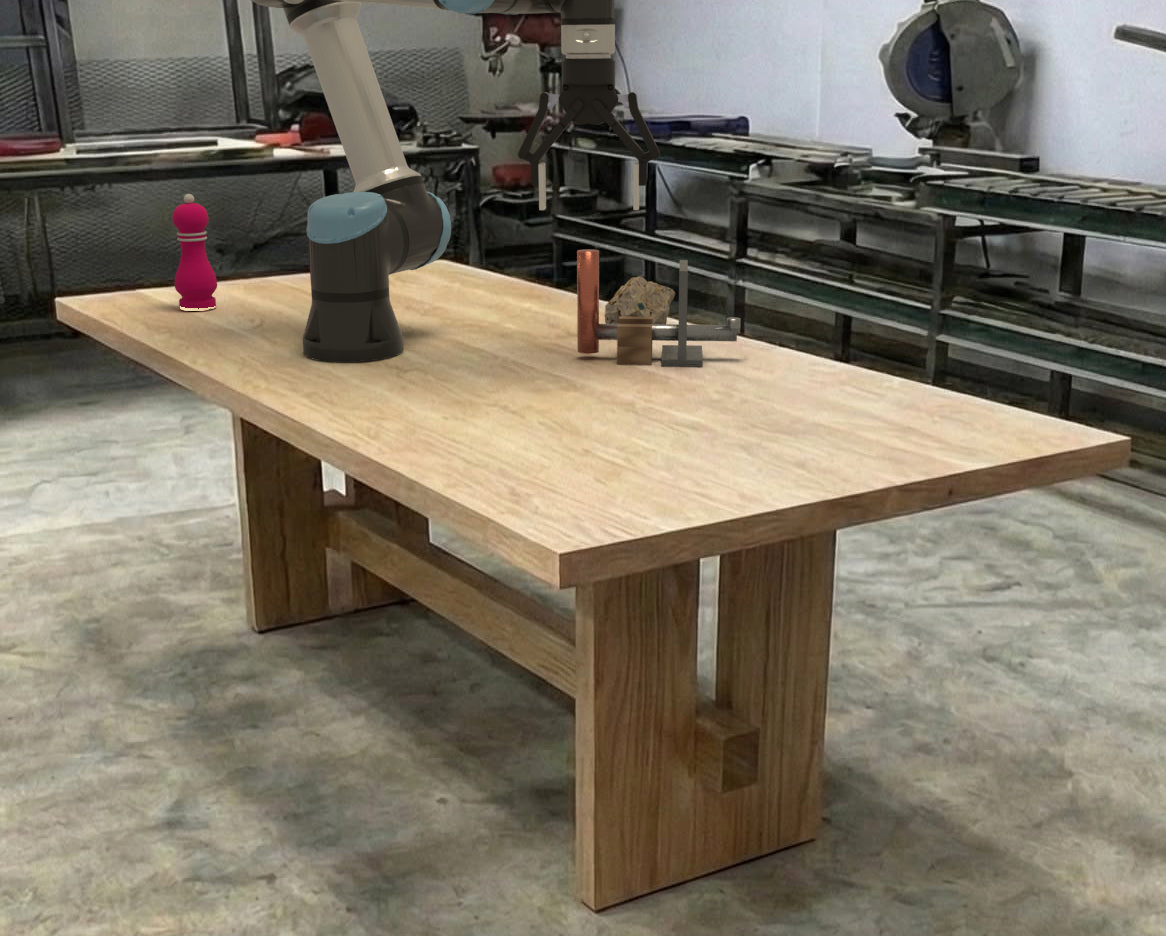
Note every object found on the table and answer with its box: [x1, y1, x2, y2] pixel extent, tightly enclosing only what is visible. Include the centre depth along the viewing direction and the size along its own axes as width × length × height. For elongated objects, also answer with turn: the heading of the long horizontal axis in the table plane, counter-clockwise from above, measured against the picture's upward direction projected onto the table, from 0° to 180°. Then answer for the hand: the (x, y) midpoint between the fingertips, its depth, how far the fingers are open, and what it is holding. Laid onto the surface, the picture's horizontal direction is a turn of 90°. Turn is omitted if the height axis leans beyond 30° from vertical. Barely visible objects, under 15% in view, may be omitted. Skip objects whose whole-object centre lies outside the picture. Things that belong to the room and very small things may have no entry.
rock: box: [604, 275, 676, 324], centre depth 233 cm, size 12×7×10 cm, turn 120°
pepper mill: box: [172, 193, 218, 309], centre depth 250 cm, size 7×7×20 cm
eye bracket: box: [660, 259, 704, 368], centre depth 212 cm, size 6×10×14 cm, turn 176°
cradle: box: [616, 316, 653, 366], centre depth 214 cm, size 5×8×6 cm, turn 176°
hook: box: [576, 248, 741, 355], centre depth 212 cm, size 24×3×15 cm, turn 86°
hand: (589, 209), depth 209 cm, fingers open, 13 cm apart
